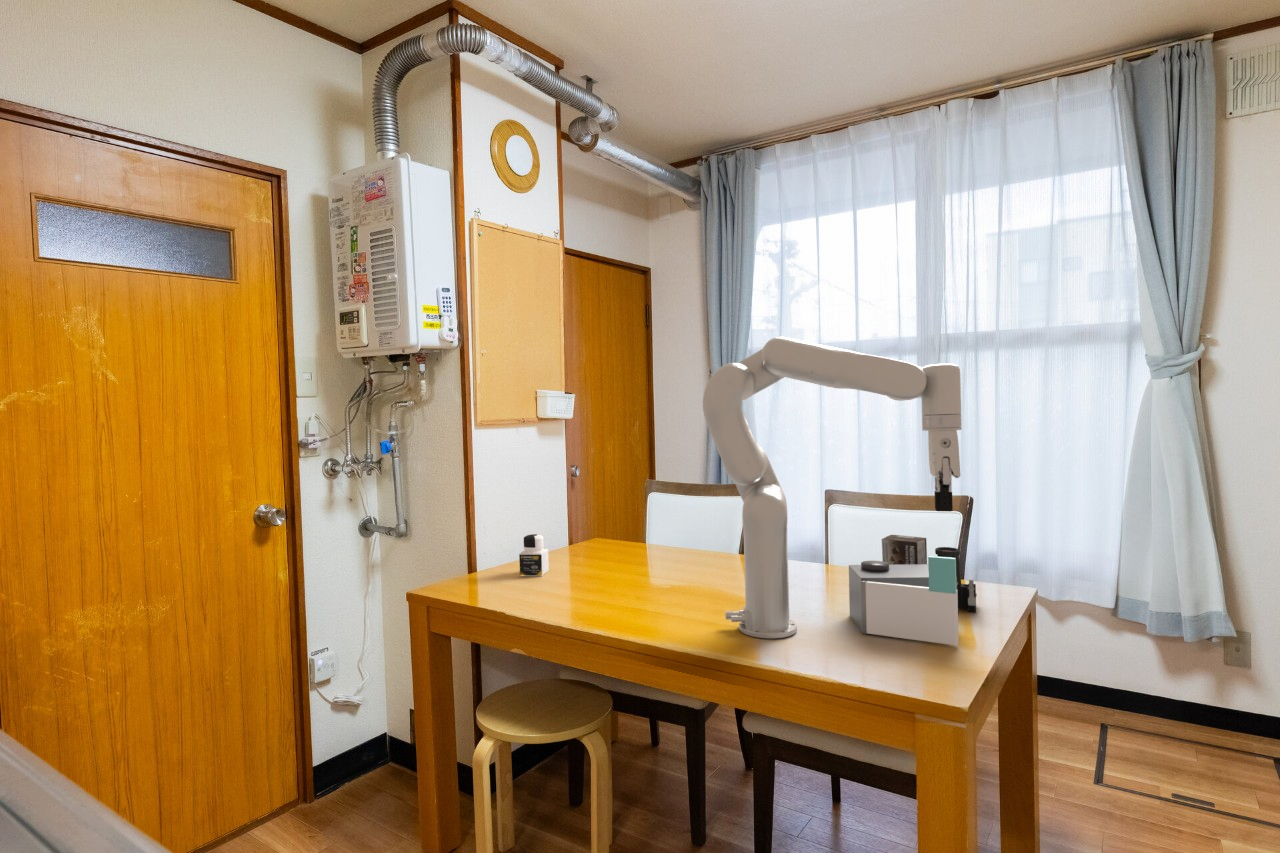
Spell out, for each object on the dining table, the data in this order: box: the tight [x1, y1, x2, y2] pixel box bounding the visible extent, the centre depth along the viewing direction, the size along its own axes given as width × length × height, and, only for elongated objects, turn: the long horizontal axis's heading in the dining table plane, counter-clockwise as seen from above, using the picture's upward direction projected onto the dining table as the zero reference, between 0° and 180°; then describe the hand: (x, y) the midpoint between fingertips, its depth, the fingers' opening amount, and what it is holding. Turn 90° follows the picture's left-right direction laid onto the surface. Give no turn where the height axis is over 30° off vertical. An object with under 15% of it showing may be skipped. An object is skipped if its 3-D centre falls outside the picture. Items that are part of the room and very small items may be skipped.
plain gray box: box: [848, 560, 957, 631], centre depth 150 cm, size 20×12×13 cm, turn 85°
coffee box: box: [881, 534, 928, 565], centre depth 166 cm, size 9×6×16 cm
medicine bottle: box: [518, 533, 550, 577], centre depth 207 cm, size 7×7×12 cm
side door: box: [860, 555, 959, 646], centre depth 139 cm, size 19×1×18 cm, turn 60°
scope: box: [934, 546, 978, 613], centre depth 161 cm, size 8×14×10 cm
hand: (943, 510), depth 140 cm, fingers closed
